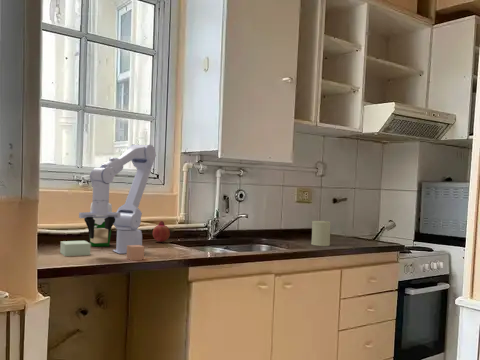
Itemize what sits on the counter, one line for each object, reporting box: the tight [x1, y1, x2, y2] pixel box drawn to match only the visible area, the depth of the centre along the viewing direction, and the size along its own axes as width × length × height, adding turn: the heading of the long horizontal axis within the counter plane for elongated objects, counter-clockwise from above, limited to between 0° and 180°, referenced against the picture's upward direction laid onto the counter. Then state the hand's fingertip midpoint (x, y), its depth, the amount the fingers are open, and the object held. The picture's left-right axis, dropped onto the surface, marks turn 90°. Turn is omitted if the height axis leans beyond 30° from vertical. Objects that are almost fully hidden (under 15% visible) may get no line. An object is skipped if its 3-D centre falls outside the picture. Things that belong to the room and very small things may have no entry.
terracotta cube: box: [126, 245, 146, 261], centre depth 167 cm, size 5×5×5 cm
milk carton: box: [89, 202, 113, 248], centre depth 196 cm, size 9×9×20 cm
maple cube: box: [89, 228, 108, 243], centre depth 167 cm, size 5×5×5 cm
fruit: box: [152, 220, 171, 243], centre depth 214 cm, size 8×8×10 cm
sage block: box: [59, 240, 92, 257], centre depth 173 cm, size 9×9×4 cm
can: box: [310, 220, 332, 247], centre depth 229 cm, size 9×9×12 cm
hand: (99, 237), depth 167 cm, fingers closed on maple cube, 5 cm apart
